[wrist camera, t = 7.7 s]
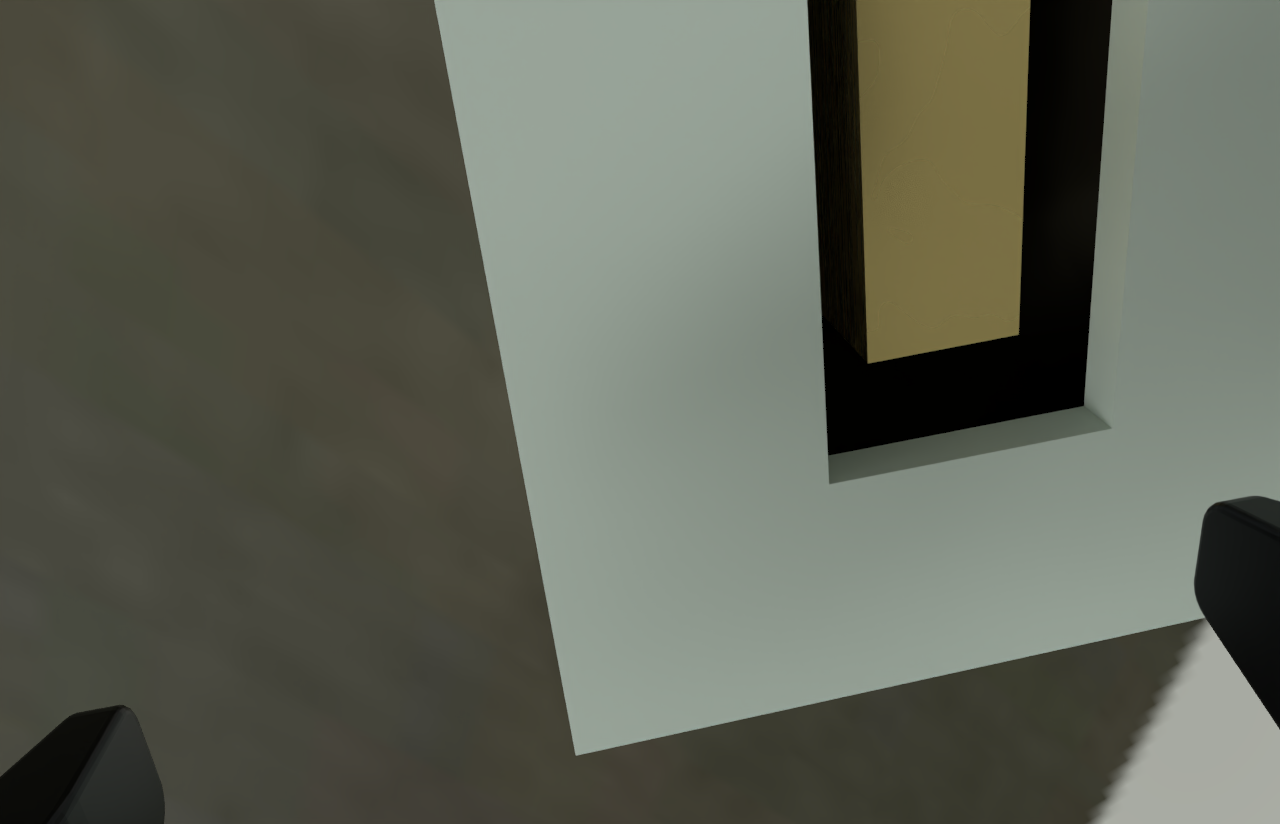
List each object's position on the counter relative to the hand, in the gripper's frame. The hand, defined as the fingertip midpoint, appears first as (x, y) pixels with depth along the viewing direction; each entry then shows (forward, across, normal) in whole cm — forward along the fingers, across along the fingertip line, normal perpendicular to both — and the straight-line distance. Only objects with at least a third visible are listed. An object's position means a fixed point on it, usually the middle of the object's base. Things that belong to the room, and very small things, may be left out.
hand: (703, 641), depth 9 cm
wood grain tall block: (+12, -5, -2) cm, 13 cm away
